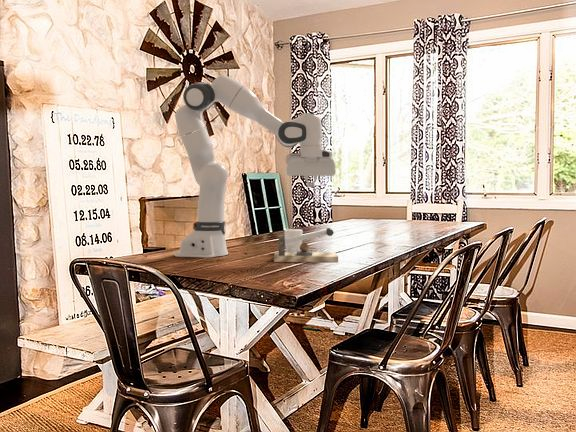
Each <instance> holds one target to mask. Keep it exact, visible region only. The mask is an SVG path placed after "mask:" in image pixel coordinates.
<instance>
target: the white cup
mask: <svg viewBox="0 0 576 432" xmlns="http://www.w3.org/2000/svg"><path fill="white" fill-rule="evenodd" d="M283 232H284V236H285V239H287V238H292V237H297V236H301V235H303V233H304V231H303V229H300V228H299V229H298V228H288V229H287V228H286V229H284V231H283ZM302 243H303V240H301V241H296V242H292V243H287V244H285V252H297V251H301V250H300V245H301V244H302Z"/></svg>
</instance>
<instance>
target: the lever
mask: <svg viewBox="0 0 576 432" xmlns="http://www.w3.org/2000/svg"><path fill="white" fill-rule="evenodd" d="M333 235H334V230H333V229H332V228H331V227H327V228H326V229H325V230H321V231H316V232H312V233H307V234H306V233H305V234H302V235H301V236H297V237H292V238H287V239H285V244H287V243H292V242H296V241H301V240H302V241H304V240H309V239H310V240H311V239H313V238H320V237H323V236H329V237H331V236H333Z"/></svg>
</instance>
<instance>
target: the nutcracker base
mask: <svg viewBox="0 0 576 432" xmlns="http://www.w3.org/2000/svg"><path fill="white" fill-rule="evenodd" d="M309 247H310V245H309V244H308V243H306V242H302V244H301V245H300V250H301V251H297V252H286V246H285V235H283V236H282V235H280V236H278V252H276V251H275V252H274V254H273V262H274V263H317V262H318V263H321V262H322V263H330V262H331V263H334V262H335V263H338V262H339V255H338V254H337V253H336V251H333V252H331V251H329V252H327V251H326V252H325V251H324V252H322V251H321V252H317V251H316V252H314V251H313V252H312V250H309Z"/></svg>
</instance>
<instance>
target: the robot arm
mask: <svg viewBox="0 0 576 432" xmlns="http://www.w3.org/2000/svg"><path fill="white" fill-rule="evenodd" d="M182 96H183V97H182V98H183V101H184V102H183V103H184V104H185V105H183V106H180V107H179V108H177V110H176V111H175V114H174V117H175V122H176V128H177V130H178V133H179V136H180V139H181V142H182V143H183V144H182V145H183V146H184V148H185V151H186V154H187V157H188V160H189V163H190V167H191V171H192V174H193V176H194V180H195V182H196V184H198V185H199V191H198V201H197V221H195V222H193V224H192V229H193V231H191V232H189V234H187V235H186V236H185V237H184V238H182V240H181V241H180V246H179V250H177V251H175V252H174V256H175V257H177V258H178V257H180V258H184V257H185V258H214V257H221V256H226V255H229V252H228V248H227V243H226V231H227V230H226V229H227V226H226V221H225V198H226V190H227V181H228V176H229V175H228V171H227V169H226V168H225V167H224V165H222V163H219V162H217V159H216V157H215V152H214V145H213V142H212V140H211V137H210V135H209V132H208V130H207V127H206V124H205V122H204V119H203V114H204V113H205V112H207V110H209V109H211V108H212V107H213V106H214V104H215V103H220V104H222V105H223V106H225V107H227V108H228V109H230V110H231V111H232V112H234V113H236V114H238V115H240V116H242V117H244V118H247V119H250V120H252V121H254V122H256V123H258V124H259V125H261V126H263V127H264V128H265V129H267V130H268V131H269V132H270V133H272V134H273V135H274V136H275V138H276V139H277V141H278V142H279V144H280V145H281V146H282V147H286V148H293V147H296V146H297V145H298V144H299V145H300V146H299V147H300V148H299V153H298V152H297V153H296V152H295V153H292V152H291V153H287V155H286V156H285V163H286V171H285V172H286V175H287V176H288V177H289V176H290V177H296V176H297V177H299V176H300V177H304V180H305V182H306V187H307V188H315V183H316V181H317V179H318V177H320V176H321V177H324V176H325V177H334V176H335V175H336V164H335V160H334V158H333V152H331V151H328V150H326V149H323V146H322V136H323V127H322V120H321V118H320V115H319V116H318V115H317V114H314V113H310V112H309V113H308V112H303V113H302V114H301V115H299V116H298V117H295V118H294V119H291V120H288V121H282V120H281V119H280V118H278V117H276V116H275V115H274V114H272V113H271V112H269V111H268V110H267V109H266V108H265V106H264V105H262V103H261V101H260V100H259V97H258V96H257V95H256V94H255V93H254V92H253V90H251V89H249V87H247V86H245V84H244V83H241V82H240V81H237V80H236V79H234V78H232V77H230V76H228V75H225V74H222V75H218V76H216V77H215V78H214V80H213V81H212V83H207V82H203V81H200V82H199V81H198V82H195V83H191V84H189V85H188V86H186V88H185V89H184V92H183V95H182ZM311 176H312V177H313V181H312V182H310V181H309V180H308V179H309V177H311Z"/></svg>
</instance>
